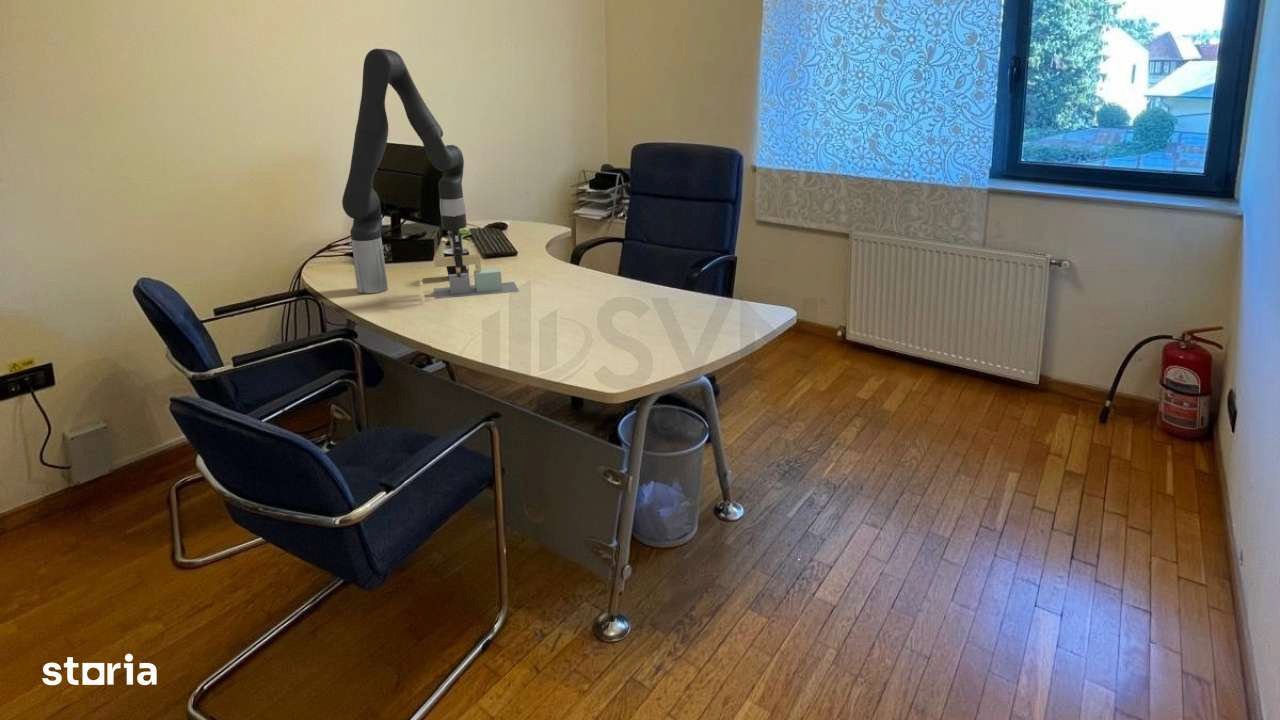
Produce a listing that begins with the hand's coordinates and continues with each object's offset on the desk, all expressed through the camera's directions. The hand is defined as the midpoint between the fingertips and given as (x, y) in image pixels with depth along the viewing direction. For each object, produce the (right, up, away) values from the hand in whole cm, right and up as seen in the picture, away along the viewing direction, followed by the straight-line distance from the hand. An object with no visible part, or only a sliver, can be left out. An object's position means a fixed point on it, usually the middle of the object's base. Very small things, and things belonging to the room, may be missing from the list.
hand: (458, 263), depth 253 cm
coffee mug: (-3, -3, +21) cm, 22 cm away
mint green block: (+9, -7, +6) cm, 13 cm away
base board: (+5, -9, +5) cm, 11 cm away
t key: (0, -4, +1) cm, 4 cm away
